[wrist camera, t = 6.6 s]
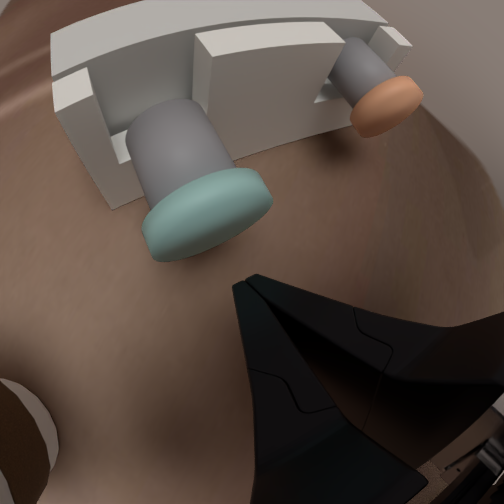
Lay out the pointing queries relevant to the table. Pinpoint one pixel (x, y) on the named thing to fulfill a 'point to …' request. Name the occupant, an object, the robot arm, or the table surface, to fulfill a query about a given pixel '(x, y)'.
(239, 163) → the table surface
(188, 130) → the teal button
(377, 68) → the terracotta button
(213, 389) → the table surface
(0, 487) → the coffee cup
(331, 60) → the button panel
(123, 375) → the table surface
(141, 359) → the table surface
